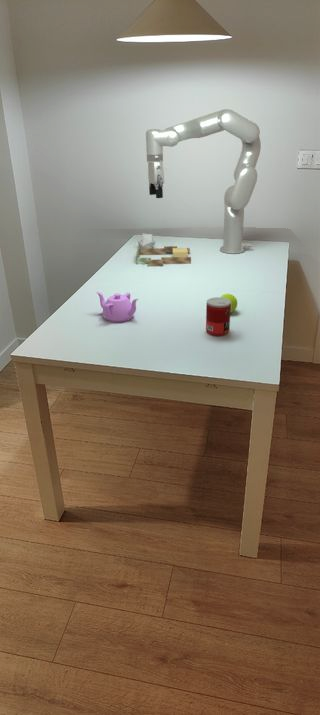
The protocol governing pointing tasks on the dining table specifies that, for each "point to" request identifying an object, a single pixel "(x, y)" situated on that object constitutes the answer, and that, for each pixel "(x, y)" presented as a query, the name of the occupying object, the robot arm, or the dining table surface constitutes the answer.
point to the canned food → (218, 316)
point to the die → (146, 241)
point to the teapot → (118, 307)
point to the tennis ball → (233, 301)
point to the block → (180, 252)
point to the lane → (164, 260)
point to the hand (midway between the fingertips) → (156, 196)
